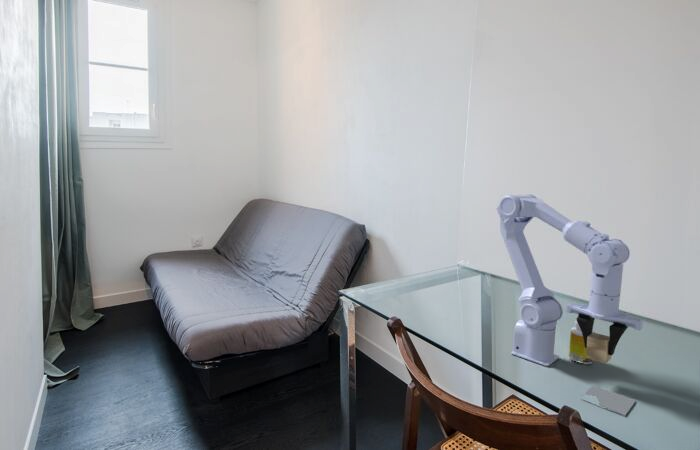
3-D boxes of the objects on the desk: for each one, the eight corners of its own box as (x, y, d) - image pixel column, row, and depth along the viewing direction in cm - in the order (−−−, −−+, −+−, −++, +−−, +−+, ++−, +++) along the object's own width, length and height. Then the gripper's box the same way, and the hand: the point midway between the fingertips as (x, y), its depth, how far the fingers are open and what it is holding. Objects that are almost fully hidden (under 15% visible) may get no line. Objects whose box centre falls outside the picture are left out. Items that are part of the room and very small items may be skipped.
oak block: (585, 357, 89) (587, 336, 88) (591, 352, 91) (593, 332, 91) (605, 363, 86) (607, 342, 85) (611, 358, 88) (613, 337, 88)
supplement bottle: (586, 367, 97) (590, 328, 96) (564, 358, 101) (567, 321, 100) (597, 362, 100) (600, 324, 99) (575, 353, 104) (578, 317, 103)
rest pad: (580, 399, 82) (580, 397, 82) (592, 386, 87) (592, 385, 87) (625, 416, 76) (625, 415, 76) (635, 401, 81) (635, 400, 81)
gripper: (563, 288, 89) (558, 344, 91) (639, 304, 79) (632, 367, 80) (574, 283, 94) (569, 336, 96) (647, 298, 83) (641, 357, 85)
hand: (599, 350), depth 88 cm, fingers closed on oak block, 4 cm apart
